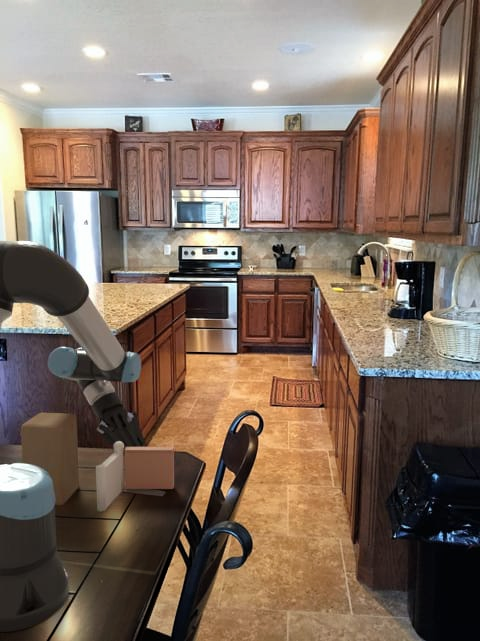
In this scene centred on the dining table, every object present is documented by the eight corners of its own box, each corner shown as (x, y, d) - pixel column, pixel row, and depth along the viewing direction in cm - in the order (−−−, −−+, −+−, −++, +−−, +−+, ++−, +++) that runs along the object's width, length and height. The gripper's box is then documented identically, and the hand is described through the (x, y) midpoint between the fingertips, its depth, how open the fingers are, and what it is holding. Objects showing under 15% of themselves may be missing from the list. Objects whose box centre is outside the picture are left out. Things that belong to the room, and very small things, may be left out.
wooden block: (80, 487, 127) (77, 412, 124) (63, 507, 118) (59, 427, 115) (43, 485, 128) (39, 411, 125) (23, 505, 119) (18, 425, 116)
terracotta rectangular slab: (125, 489, 125) (124, 449, 123) (127, 485, 127) (126, 446, 125) (173, 489, 125) (172, 450, 124) (174, 485, 127) (173, 446, 126)
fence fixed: (104, 512, 115) (103, 460, 113) (94, 510, 115) (92, 459, 113) (126, 486, 127) (125, 439, 125) (117, 485, 127) (116, 439, 126)
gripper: (89, 397, 127) (135, 477, 121) (128, 385, 138) (172, 458, 131) (77, 412, 131) (121, 490, 125) (116, 399, 142) (158, 471, 135)
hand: (147, 474), depth 128 cm, fingers closed
